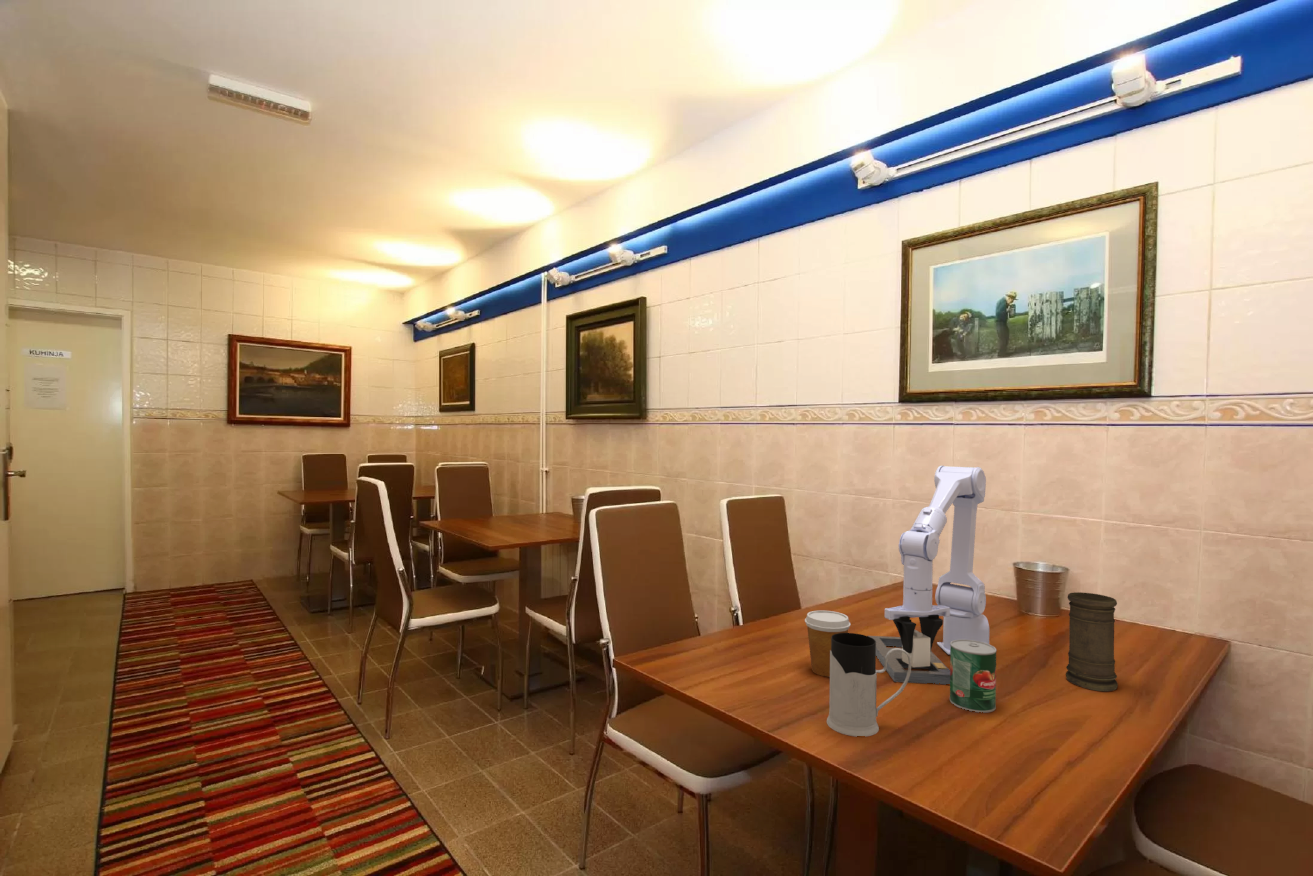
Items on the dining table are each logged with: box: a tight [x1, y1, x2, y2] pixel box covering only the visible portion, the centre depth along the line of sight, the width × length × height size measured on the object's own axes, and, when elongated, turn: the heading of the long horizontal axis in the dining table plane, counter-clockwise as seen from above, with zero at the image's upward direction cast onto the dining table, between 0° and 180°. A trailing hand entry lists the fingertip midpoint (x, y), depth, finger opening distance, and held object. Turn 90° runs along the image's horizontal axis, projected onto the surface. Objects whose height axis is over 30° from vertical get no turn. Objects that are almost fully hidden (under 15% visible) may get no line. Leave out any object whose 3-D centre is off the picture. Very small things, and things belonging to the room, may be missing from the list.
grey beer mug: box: [826, 632, 912, 737], centre depth 109 cm, size 9×14×15 cm, turn 84°
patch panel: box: [868, 635, 950, 685], centre depth 140 cm, size 12×24×2 cm, turn 174°
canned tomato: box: [949, 640, 997, 714], centre depth 118 cm, size 8×8×11 cm
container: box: [1065, 591, 1119, 692], centre depth 129 cm, size 9×9×18 cm
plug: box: [901, 629, 930, 667], centre depth 133 cm, size 4×4×7 cm
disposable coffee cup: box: [804, 610, 851, 678], centre depth 134 cm, size 10×10×12 cm
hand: (917, 651), depth 133 cm, fingers closed on plug, 4 cm apart
